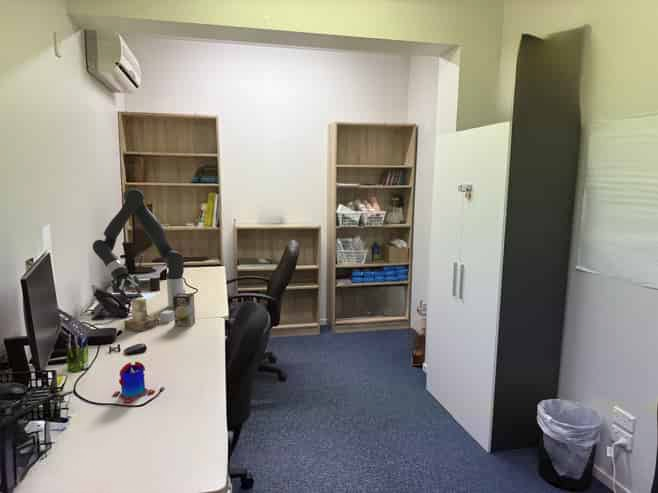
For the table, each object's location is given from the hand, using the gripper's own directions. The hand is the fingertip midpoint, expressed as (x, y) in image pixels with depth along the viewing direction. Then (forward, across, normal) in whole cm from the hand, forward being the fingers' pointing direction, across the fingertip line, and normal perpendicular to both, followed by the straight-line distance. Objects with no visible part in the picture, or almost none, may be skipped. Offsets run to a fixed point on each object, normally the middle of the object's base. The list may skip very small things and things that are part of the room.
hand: (132, 295), depth 229 cm
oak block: (+12, 0, +5) cm, 13 cm away
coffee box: (+27, +15, -3) cm, 31 cm away
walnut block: (+15, 0, +8) cm, 17 cm away
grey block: (+18, +14, +6) cm, 23 cm away
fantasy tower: (+58, -46, -35) cm, 82 cm away
